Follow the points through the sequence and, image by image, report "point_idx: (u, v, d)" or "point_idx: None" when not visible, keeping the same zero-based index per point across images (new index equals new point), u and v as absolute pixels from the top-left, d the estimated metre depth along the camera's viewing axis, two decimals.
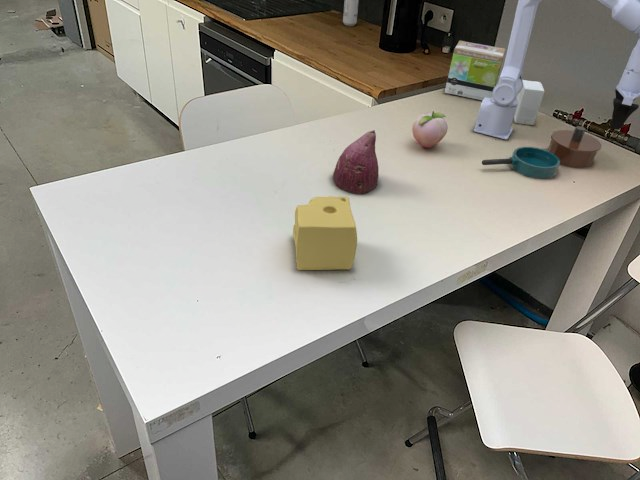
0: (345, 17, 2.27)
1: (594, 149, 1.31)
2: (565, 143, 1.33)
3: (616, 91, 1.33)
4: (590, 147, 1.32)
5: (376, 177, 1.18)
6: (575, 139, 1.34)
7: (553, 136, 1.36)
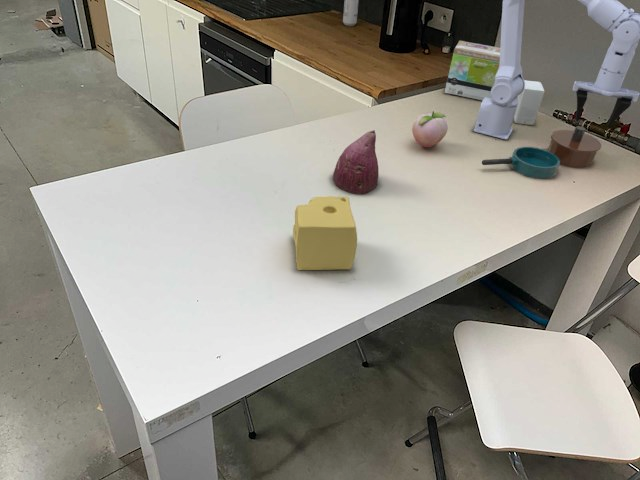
0: (345, 17, 2.27)
1: (594, 149, 1.31)
2: (565, 143, 1.33)
3: None
4: (590, 147, 1.32)
5: (376, 177, 1.18)
6: (575, 139, 1.34)
7: (553, 136, 1.36)
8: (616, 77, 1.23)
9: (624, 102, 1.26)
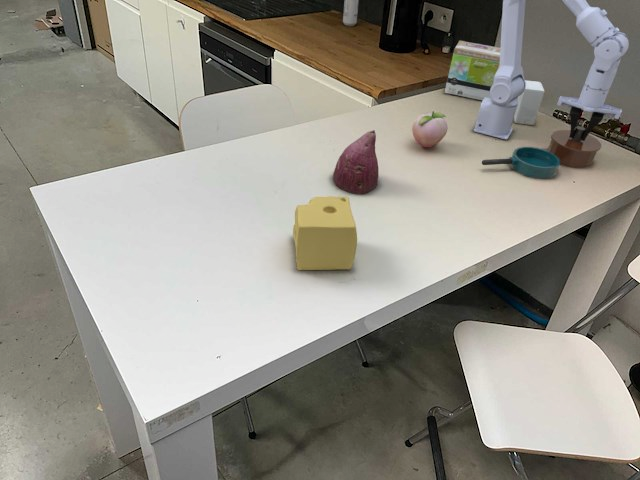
0: (345, 17, 2.27)
1: (594, 149, 1.31)
2: (565, 143, 1.33)
3: None
4: (590, 147, 1.32)
5: (376, 177, 1.18)
6: (575, 139, 1.34)
7: (553, 136, 1.36)
8: (597, 94, 1.25)
9: (596, 116, 1.28)
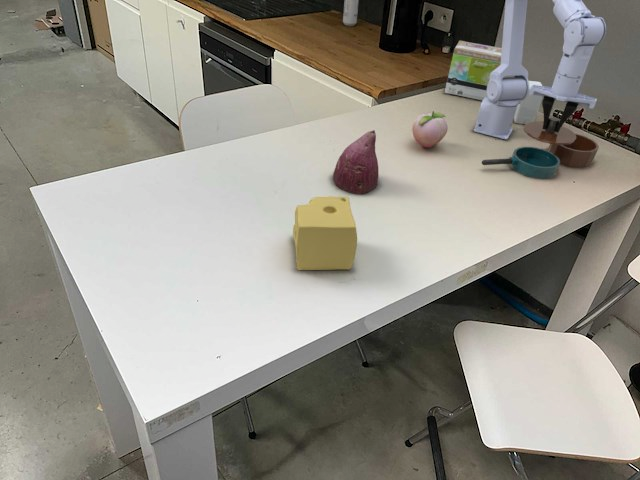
0: (345, 17, 2.27)
1: (568, 141, 1.24)
2: (538, 135, 1.25)
3: None
4: (564, 139, 1.25)
5: (376, 177, 1.18)
6: (549, 131, 1.27)
7: (526, 128, 1.28)
8: (570, 82, 1.18)
9: (569, 106, 1.21)
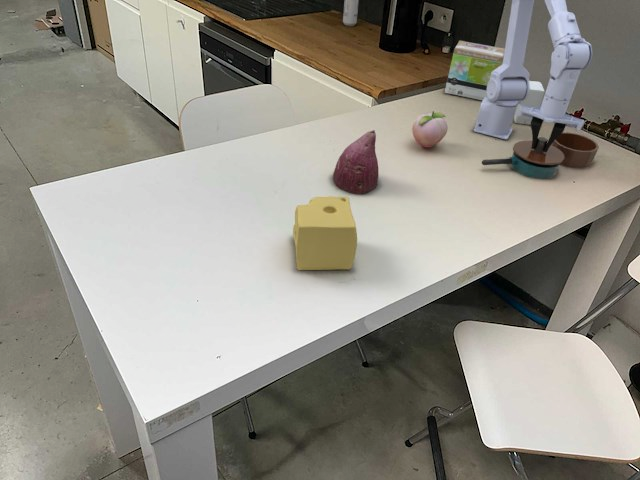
0: (345, 17, 2.27)
1: (556, 161, 1.26)
2: (526, 155, 1.28)
3: None
4: (552, 159, 1.27)
5: (376, 177, 1.18)
6: (537, 150, 1.29)
7: (515, 147, 1.31)
8: (558, 104, 1.20)
9: (557, 127, 1.23)
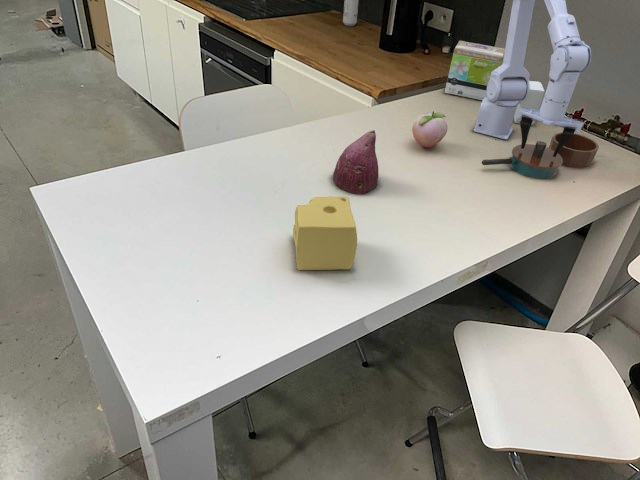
0: (345, 17, 2.27)
1: (555, 165, 1.27)
2: (525, 159, 1.28)
3: None
4: (551, 163, 1.27)
5: (376, 177, 1.18)
6: (536, 154, 1.29)
7: (514, 151, 1.31)
8: (557, 107, 1.20)
9: (566, 132, 1.22)
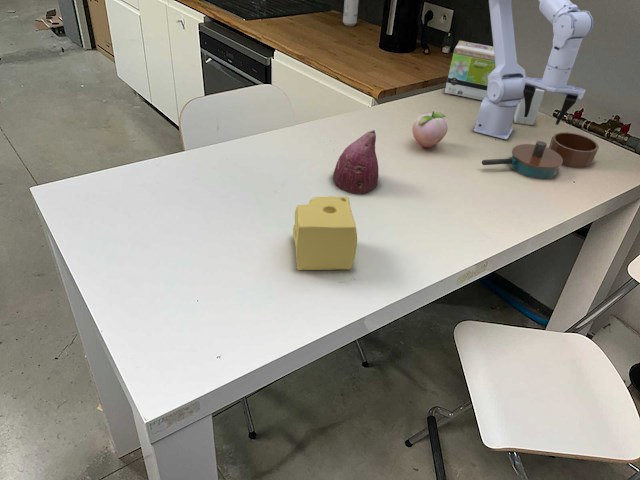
0: (345, 17, 2.27)
1: (555, 165, 1.27)
2: (525, 159, 1.28)
3: None
4: (551, 163, 1.27)
5: (376, 177, 1.18)
6: (536, 154, 1.29)
7: (514, 151, 1.31)
8: (560, 73, 1.23)
9: (569, 99, 1.25)
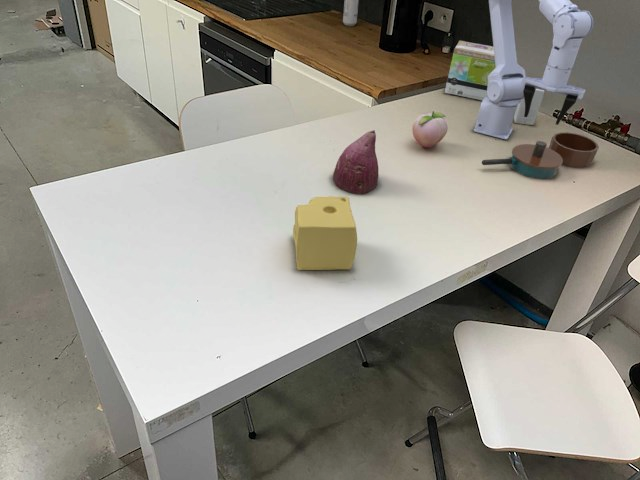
0: (345, 17, 2.27)
1: (555, 165, 1.27)
2: (525, 159, 1.28)
3: None
4: (551, 163, 1.27)
5: (376, 177, 1.18)
6: (536, 154, 1.29)
7: (514, 151, 1.31)
8: (560, 73, 1.23)
9: (569, 99, 1.25)
